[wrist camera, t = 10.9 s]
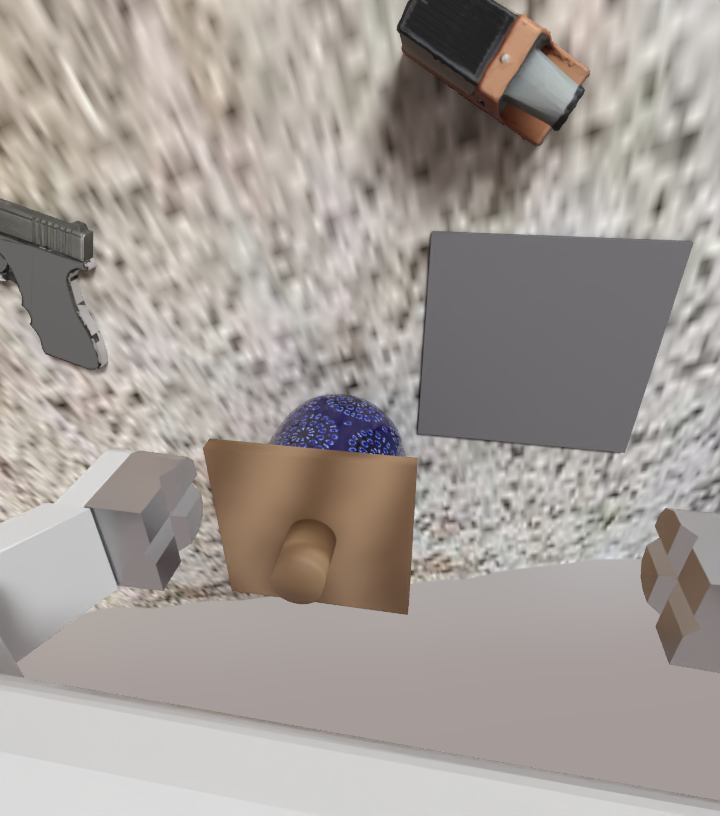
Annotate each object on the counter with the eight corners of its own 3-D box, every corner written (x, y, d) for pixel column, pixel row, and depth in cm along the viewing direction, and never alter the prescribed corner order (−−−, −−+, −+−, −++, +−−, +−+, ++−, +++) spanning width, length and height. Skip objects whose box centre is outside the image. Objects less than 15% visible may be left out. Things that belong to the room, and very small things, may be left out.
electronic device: (536, 147, 32) (553, 162, 25) (399, 54, 30) (381, 45, 24) (588, 70, 29) (622, 66, 23) (442, -34, 28) (435, -69, 22)
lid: (417, 457, 31) (410, 516, 27) (408, 602, 38) (401, 667, 34) (209, 438, 33) (172, 490, 29) (236, 580, 40) (210, 638, 36)
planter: (259, 419, 46) (206, 506, 36) (353, 352, 41) (320, 432, 31) (341, 501, 49) (312, 600, 40) (437, 448, 44) (430, 547, 35)
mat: (691, 241, 33) (693, 242, 32) (623, 449, 41) (624, 452, 41) (431, 231, 35) (431, 232, 35) (418, 430, 43) (417, 433, 43)
